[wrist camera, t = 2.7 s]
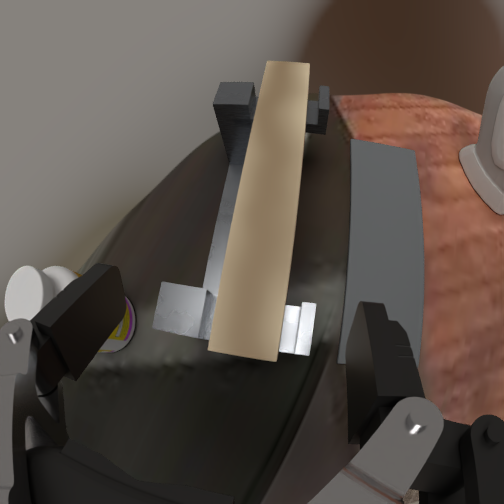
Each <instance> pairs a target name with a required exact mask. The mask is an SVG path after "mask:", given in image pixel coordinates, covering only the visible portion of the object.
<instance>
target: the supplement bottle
mask: <svg viewBox="0 0 504 504" xmlns="http://www.w3.org/2000/svg"><path fill="white" fill-rule="evenodd" d="M80 276H82V275H80V274H78V273H76V272H74V271H72V270H70V269H67V268H65V267H61V266H52V267H48V268H46V269H44V270H42V271H41V270H39V269H37V268H34V267H32V266H23V267H21V268H19V269H18V270H17V271H16V272H15V273H14V274H13V276H12V277H11V279H10V281H9V283H8V286H7V289H6V293H5V311H6V315H7V318H8V320H9V321H11V320H14V319H19V318H24V319H27V320H29V321H30V320H31V319H32V318H33V317H34V316H35V315H36V314H37V313H38V312H39V311H40V310H41V309H42V308H43V307H44V306H46V305H47V304H48V303H49V302H50V301H51V300H52V299H53V298H54V297H56V295H57V294H58V293H59V292H61V291H63V290H64V288H65V287H66V286H67V285H68V284H69V283H70V282H72V281H73V280H75V279H77V278H78V277H80ZM125 299H126V313H125V316H124V318H123V319H122V321H121V322H120V323H119V325H118V326H117V327H116V329H115V330H114V331H113V332H112V334H111V335H110V336H109V338H108V339H107V340H106V342H105V343H104V344H103V346H102V347H101V348H100V349H99V351H98V352H100V353H111V352H116V351H118V350H120V349H122V348H123V347H124V346H126V344H127V343H128V342H129V341H130V339H131V337H132V335H133V332H134V329H135V313H134V309H133V307H132V304H131V303H130V301H129V300H128V298H127V297H126V296H125Z"/></svg>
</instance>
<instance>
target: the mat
mask: <svg viewBox="0 0 504 504" xmlns="http://www.w3.org/2000/svg"><path fill="white" fill-rule="evenodd" d="M350 161H351V183H350V224H349V245H348V261H347V275H346V287H345V298H344V308H343V317H342V326H341V334H340V342H339V349H338V356H337V363H341V364H346V360H345V351H346V344H347V339H348V336H349V333H350V329H351V326H352V323H353V320H354V316H355V313H356V309H357V306H358V304H359V302H360V301H366V302H376V303H383V304H384V305H385V308H386V312H387V315H388V319H389V320H393V321H398V322H399V324H400V325H401V326H402V327H403V328H404V330H405V331H406V332H407V335H408V338H409V341H410V344H411V346H410V348H412V351H413V355H414V356H413V358H415V362H416V365H417V368H418V364H419V356H420V347H421V336H422V323H423V305H424V238H423V220H422V207H421V196H420V187H419V178H418V170H417V163H416V157H415V151H414V150H409V149H404V148H400V147H395V146H390V145H385V144H379V143H374V142H368V141H362V140H356V139H351V141H350Z"/></svg>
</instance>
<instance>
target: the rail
mask: <svg viewBox="0 0 504 504" xmlns="http://www.w3.org/2000/svg"><path fill="white" fill-rule="evenodd" d="M309 69H310V64H309V63H308V64H307V63H297V62H282V61H267V64H266V68H265V72H264V77H263V81H262V85H261V90H260V94H259V98H258V102H257V107H256V111H255V116H254V120H253V124H252V129H251V133H250V138H249V142H248V147H247V152H246V156H245V161H244V166H243V170H242V175H241V180H240V184H239V189H238V194H237V199H236V204H235V208H234V213H233V218H232V223H231V228H230V233H229V238H228V243H227V248H226V254H225V259H224V264H223V269H222V274H221V280H220V285H219V290H218V296H217V301H216V306H215V312H214V317H213V323H212V329H211V334H210V340H209V346H208V350H209V351H214V352H220V353H225V354H231V355H236V356H242V357H248V358H254V359H261V360H267V361H274V362H276V361H277V359H278V352H279V346H280V340H281V333H282V327H283V320H284V313H285V306H286V299H287V292H288V285H289V277H290V270H291V262H292V254H293V246H294V238H295V229H296V221H297V212H298V203H299V194H300V184H301V174H302V164H303V153H304V142H305V130H306V118H307V105H308V88H309Z"/></svg>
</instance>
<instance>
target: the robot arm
mask: <svg viewBox="0 0 504 504" xmlns="http://www.w3.org/2000/svg"><path fill="white" fill-rule="evenodd" d="M125 313H126V299H125V294H124V290H123V285H122V280H121V275H120V271H119V269H118V267H116V266H112V265H107V264H101V263H97V264H95V265H94V266H93V267H92V268H90V269H89V270H88V271H87V272H86V273H85V274H84V275H82V276H80V277H78V278H77V279H75V280H73V281H72V282H70V283H69V284H68V285H67V286H66V287H65V288H64V290H63V291H61V292H59V293H58V294H57V295H56V297H54V298H53V299H52V300H51V301H50V302H49V303H48V304H47V305H46V306H44V307H43V308H42V309H41V310H40V311H39V312H38V313H37V314H36V315H35V316H34V317H33V318H32V319H31V320H30V321H29V320H27V319H24V318H19V319H14V320H11V321H9V322H8V323H6V324H5V325H4V326H3V327H2V328H1V329H0V504H234V496H229V495H224V494H219V493H215V492H210V491H206V490H202V489H198V488H194V487H191V486H187V485H172V484H161V483H152V482H144V481H139V480H136V479H134V478H133V477H131V476H130V475H129V474H127V473H126V472H124V471H123V470H122V469H120V468H119V467H117V466H116V465H115V464H113V463H112V462H111V461H110V460H108V459H107V458H106V457H104V456H103V455H102V454H100V453H98V452H95V451H93V450H91V449H89V448H87V447H85V446H83V445H81V444H79V443H77V442H75V441H73V440H72V439H70V438H69V436H68V433H67V430H66V422H65V411H64V396H63V385H62V383H61V381H60V380H61V379H62V377H63V376H65V377H67V378H69V379H72V380H74V381H77V379H78V378H79V377H80V375H81V374H82V372H83V371H84V370H85V368H86V367H87V366H88V364H89V363H90V362H91V360H92V359H93V358H94V356H95V355H96V353H97V352H98V351H99V349H100V348H101V347H102V346H103V344H104V343H105V342H106V340H107V339H108V338H109V336H110V335H111V334H112V332H113V331H114V330H115V329H116V327H117V326H118V325H119V323H120V322H121V321H122V319H123V318H124V316H125ZM410 346H411V344H410V341H409V338H408V335H407V332H406V331H405V330H404V328H403V327H402V326H401V325H400V324H399V322H398V321H393V320H389V319H388V315H387V312H386V308H385V305H384V304H383V303H376V302H366V301H360V302H359V304H358V306H357V309H356V313H355V316H354V320H353V323H352V326H351V329H350V333H349V336H348V339H347V344H346V351H345V360H346V377H347V400H348V444H360V451H359V452H358V453H357V455H356V456H355V457H354V458H353V459H352V460H351V461H350V462H349V464H348V465H346V466H345V467H344V468H343V469H342V470H341V471H340V472H339V473H338V474H337V475H336V476H335V477H334V478H333V479H332V480H331V481H330V482H329V483H328V484H327V485H326V486H325V487H324V488H323V489H322V490H321V491H320V492H319V493H318V494H317V495H316V496H315V497H314V498H313V499H312V500H311V501H310V502H308V503H307V504H404V501H403V497H404V495H405V494H406V492H407V491H408V489H414V490H419V504H504V421H503V420H501V419H500V418H498V417H497V416H494V415H483V416H480V417H479V418H477V420H476V421H475V422H474V423H473V424H472V425H471V426H470V425H465V424H461V423H456V422H452V421H448V420H445V419H443V416H442V414H441V412H440V410H439V409H438V408H437V406H436V405H434V404H433V403H432V402H430V401H429V400H427V399H425V396H424V392H423V388H422V384H421V380H420V376H419V372H418V369H417V365H416V362H415V358H413V356H414V355H413V351H412V348H410Z"/></svg>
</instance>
